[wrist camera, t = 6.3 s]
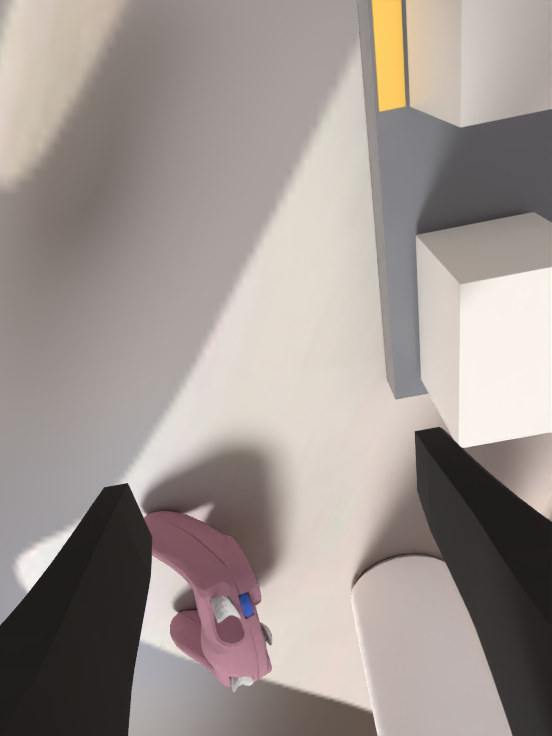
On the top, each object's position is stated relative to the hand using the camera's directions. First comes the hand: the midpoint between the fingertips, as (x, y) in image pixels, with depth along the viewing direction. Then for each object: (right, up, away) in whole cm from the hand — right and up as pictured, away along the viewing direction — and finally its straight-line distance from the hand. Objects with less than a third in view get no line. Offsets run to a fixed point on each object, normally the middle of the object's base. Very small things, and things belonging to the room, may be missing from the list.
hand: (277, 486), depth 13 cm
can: (+8, -10, +18) cm, 22 cm away
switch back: (+7, +5, +6) cm, 11 cm away
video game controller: (-4, -8, +16) cm, 18 cm away
